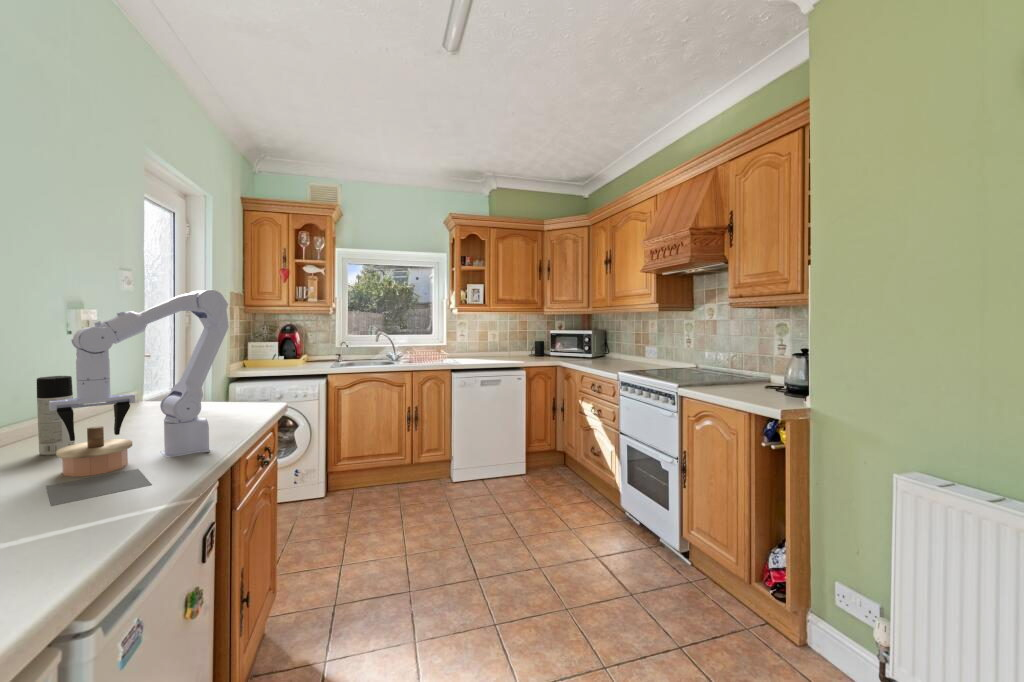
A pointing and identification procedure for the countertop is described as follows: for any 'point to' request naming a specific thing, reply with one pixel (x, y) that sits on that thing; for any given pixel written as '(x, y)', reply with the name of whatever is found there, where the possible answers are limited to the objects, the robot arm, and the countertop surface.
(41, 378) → the spray can
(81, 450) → the lid
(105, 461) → the bowl
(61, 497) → the mat
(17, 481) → the countertop surface
